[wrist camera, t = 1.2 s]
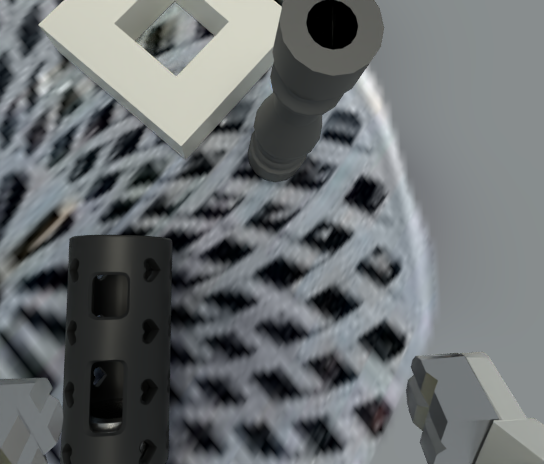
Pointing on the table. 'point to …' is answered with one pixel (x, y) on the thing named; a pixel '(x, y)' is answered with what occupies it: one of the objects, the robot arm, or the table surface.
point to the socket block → (158, 79)
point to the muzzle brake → (117, 350)
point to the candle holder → (310, 77)
